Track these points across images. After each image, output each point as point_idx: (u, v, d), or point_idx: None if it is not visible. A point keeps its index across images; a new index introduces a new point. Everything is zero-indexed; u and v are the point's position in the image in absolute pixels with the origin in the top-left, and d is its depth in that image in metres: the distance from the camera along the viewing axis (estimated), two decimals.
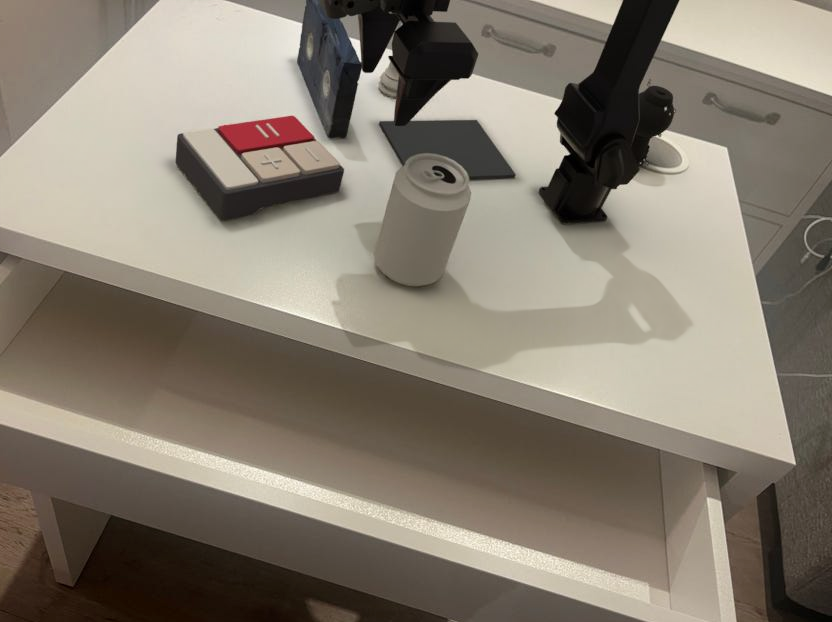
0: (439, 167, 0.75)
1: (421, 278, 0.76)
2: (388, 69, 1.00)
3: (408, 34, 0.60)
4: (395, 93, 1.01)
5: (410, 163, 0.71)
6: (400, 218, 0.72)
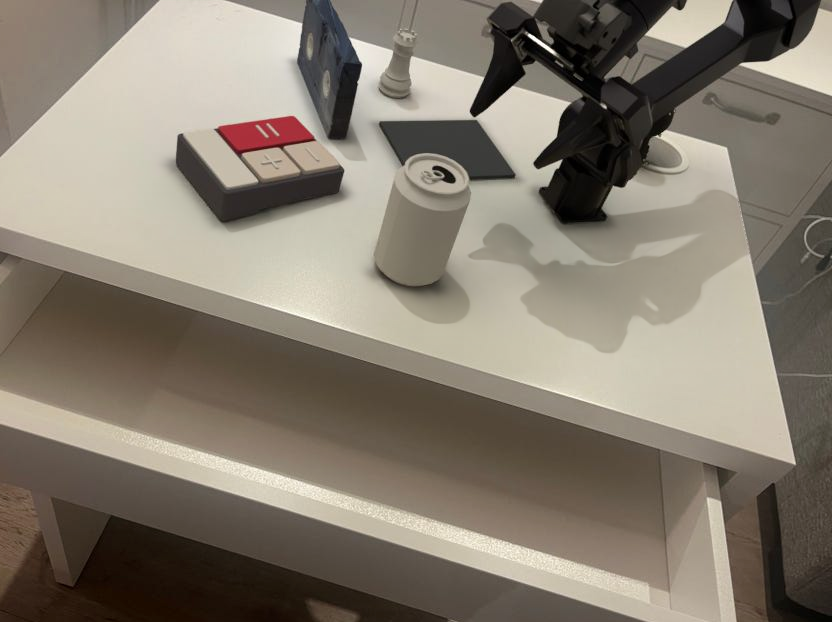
0: (439, 167, 0.75)
1: (421, 278, 0.76)
2: (388, 69, 1.00)
3: (627, 85, 0.66)
4: (395, 93, 1.01)
5: (410, 163, 0.71)
6: (400, 218, 0.72)
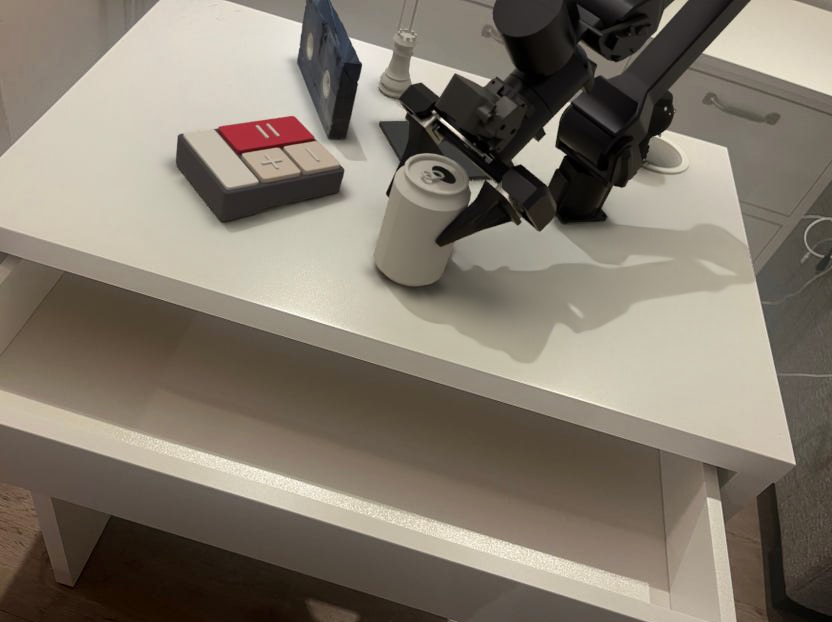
0: (439, 167, 0.75)
1: (421, 278, 0.76)
2: (388, 69, 1.00)
3: (528, 174, 0.67)
4: (395, 93, 1.01)
5: (410, 163, 0.71)
6: (400, 218, 0.72)
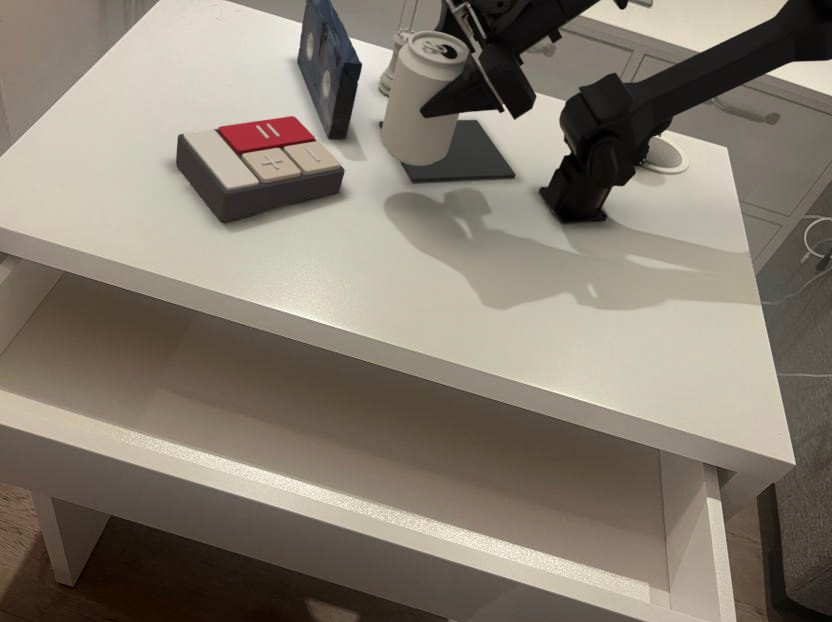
0: (457, 53, 0.78)
1: (409, 152, 0.79)
2: (388, 69, 1.00)
3: (505, 50, 0.68)
4: None
5: (421, 35, 0.76)
6: (395, 82, 0.76)
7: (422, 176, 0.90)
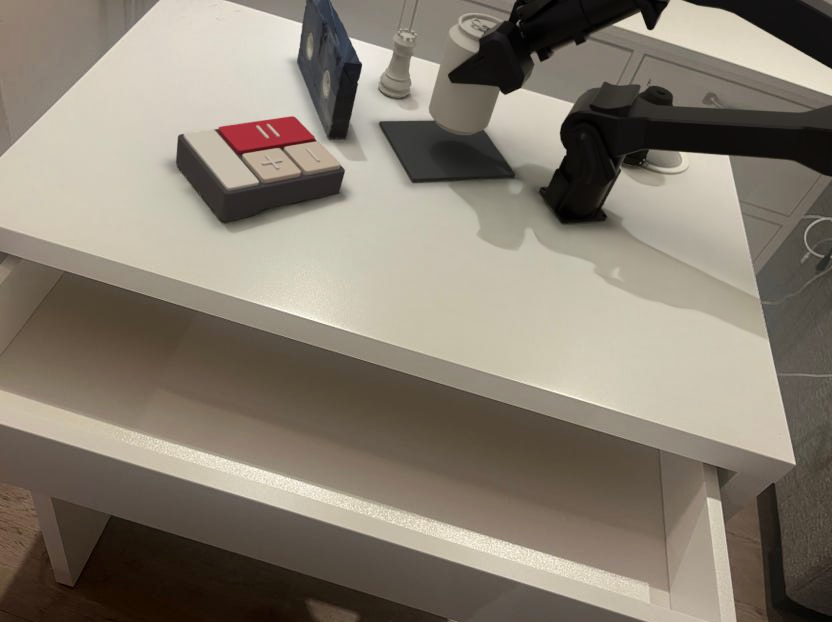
0: None
1: (439, 114, 0.89)
2: (388, 69, 1.00)
3: (507, 27, 0.76)
4: (395, 93, 1.01)
5: (481, 17, 0.86)
6: None
7: (422, 176, 0.90)
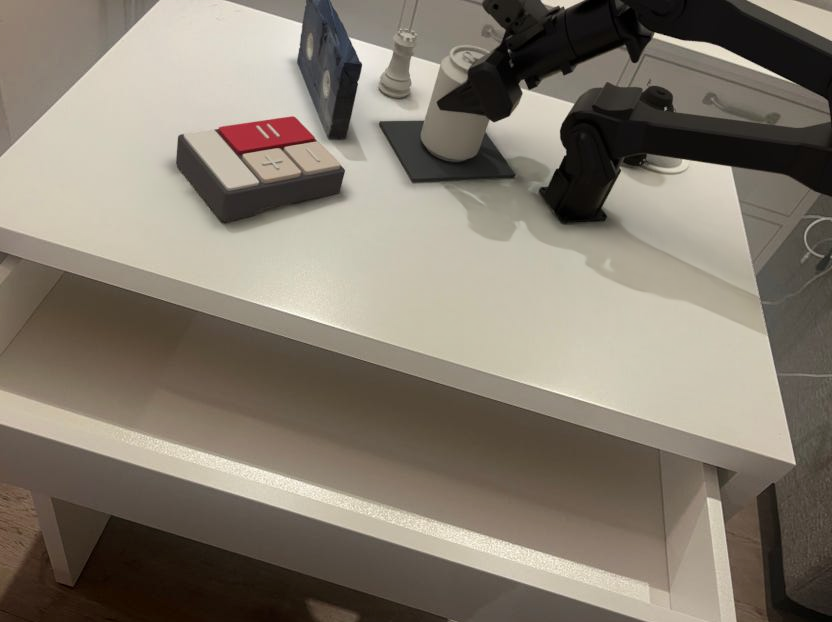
0: None
1: (430, 142, 0.92)
2: (388, 69, 1.00)
3: (496, 58, 0.78)
4: (395, 93, 1.01)
5: (472, 49, 0.88)
6: None
7: (422, 176, 0.90)
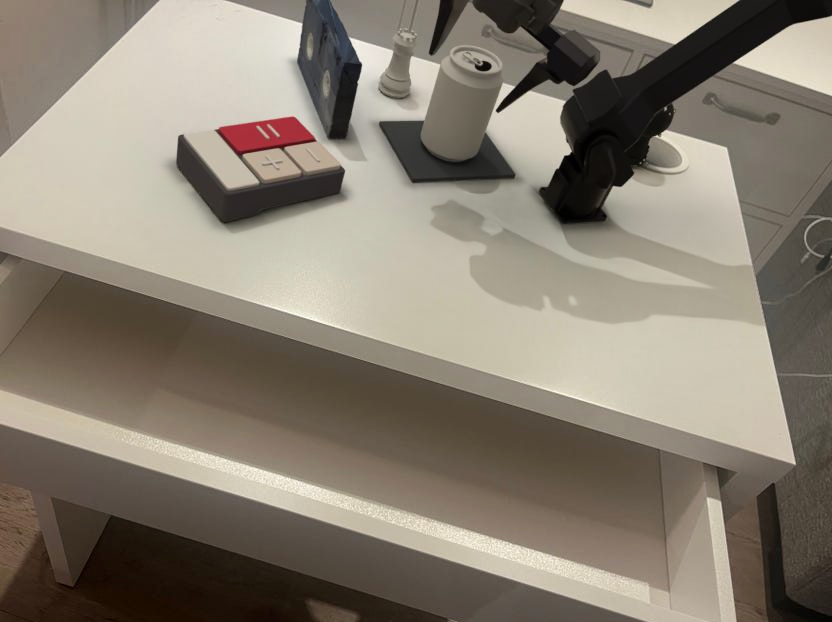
0: None
1: (430, 142, 0.92)
2: (388, 69, 1.00)
3: (571, 48, 0.71)
4: (395, 93, 1.01)
5: (472, 49, 0.88)
6: None
7: (422, 176, 0.90)
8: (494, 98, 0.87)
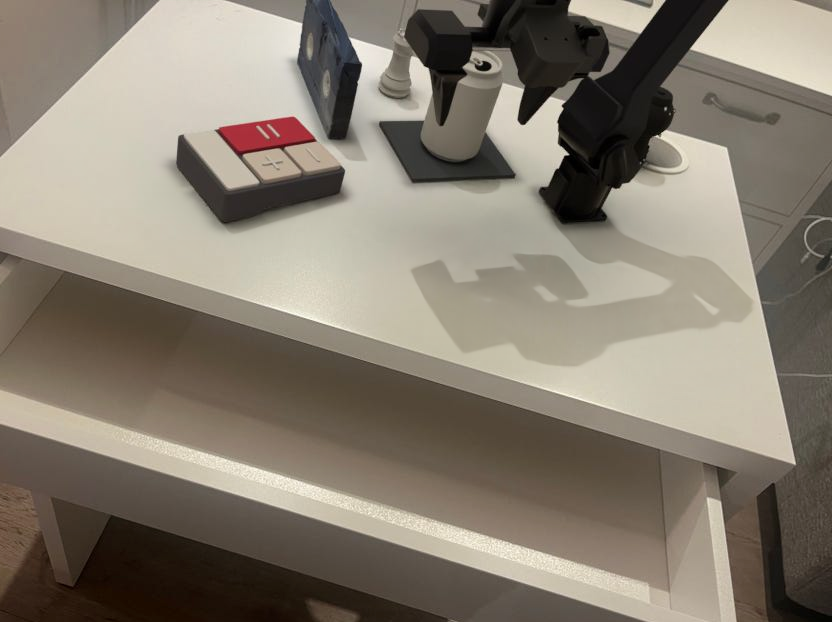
0: None
1: (430, 142, 0.92)
2: (388, 69, 1.00)
3: None
4: (395, 93, 1.01)
5: None
6: None
7: (422, 176, 0.90)
8: (494, 98, 0.87)
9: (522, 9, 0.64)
